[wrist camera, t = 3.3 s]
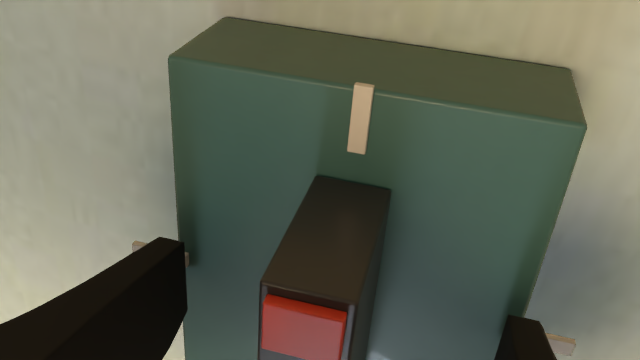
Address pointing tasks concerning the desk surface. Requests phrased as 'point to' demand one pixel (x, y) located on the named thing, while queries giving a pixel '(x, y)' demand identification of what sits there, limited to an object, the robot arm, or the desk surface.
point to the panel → (369, 178)
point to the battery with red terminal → (324, 275)
